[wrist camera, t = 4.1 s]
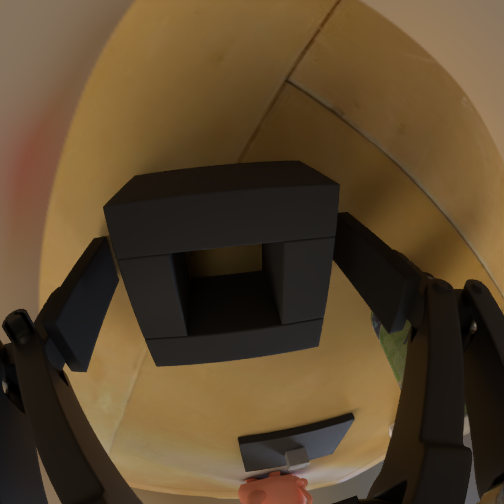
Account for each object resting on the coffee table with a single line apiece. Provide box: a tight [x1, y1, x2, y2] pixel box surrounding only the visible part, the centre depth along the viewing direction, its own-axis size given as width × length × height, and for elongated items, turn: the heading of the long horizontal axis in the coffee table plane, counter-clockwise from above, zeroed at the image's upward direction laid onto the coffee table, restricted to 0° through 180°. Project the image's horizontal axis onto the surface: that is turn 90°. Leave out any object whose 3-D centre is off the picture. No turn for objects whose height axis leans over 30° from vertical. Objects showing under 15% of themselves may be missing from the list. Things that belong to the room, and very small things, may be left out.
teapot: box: [238, 471, 313, 504], centre depth 34 cm, size 14×14×11 cm
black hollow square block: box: [103, 161, 340, 367], centre depth 12 cm, size 8×8×4 cm
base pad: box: [238, 413, 355, 472], centre depth 29 cm, size 14×14×4 cm
